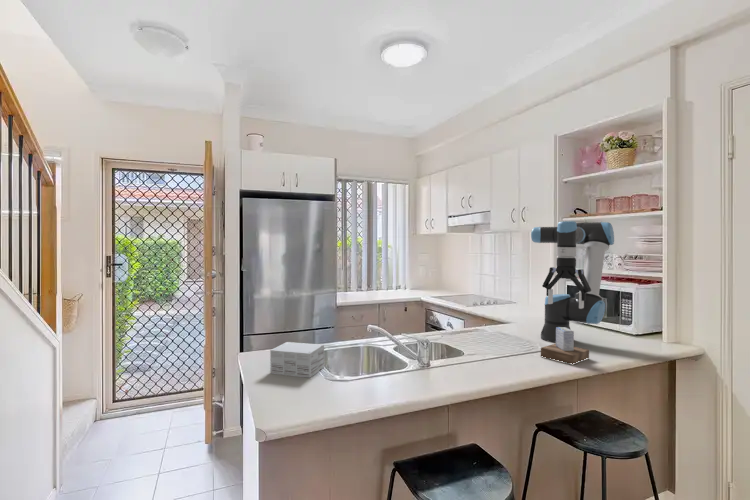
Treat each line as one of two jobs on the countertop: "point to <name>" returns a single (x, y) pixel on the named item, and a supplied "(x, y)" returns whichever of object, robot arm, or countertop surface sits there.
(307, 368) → the supplement box
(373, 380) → the countertop surface
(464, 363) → the countertop surface
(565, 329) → the medicine box
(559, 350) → the walnut base block
